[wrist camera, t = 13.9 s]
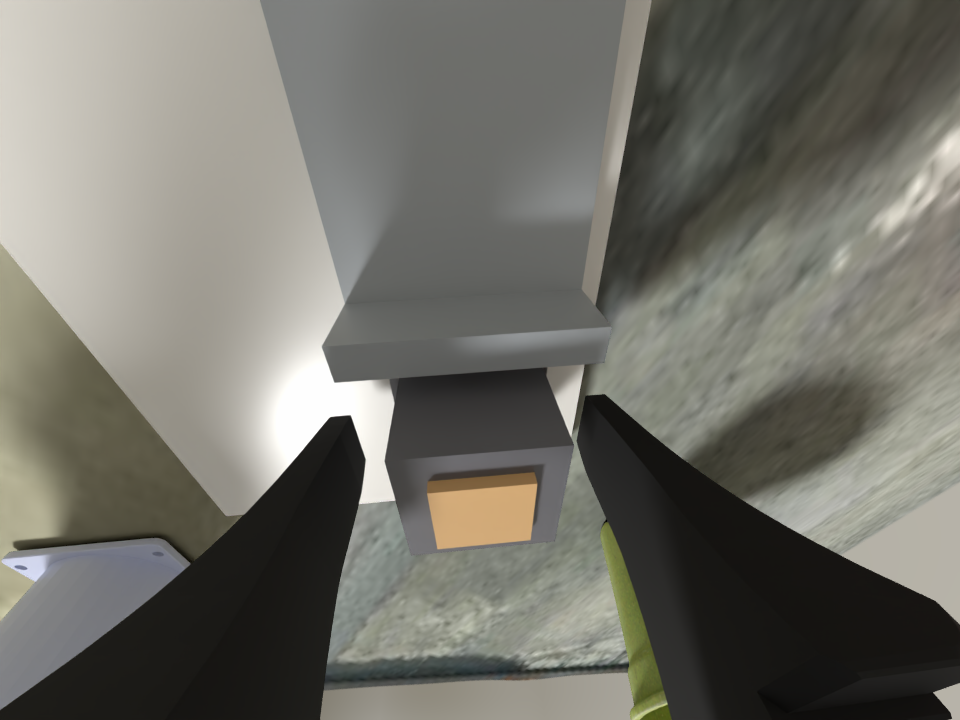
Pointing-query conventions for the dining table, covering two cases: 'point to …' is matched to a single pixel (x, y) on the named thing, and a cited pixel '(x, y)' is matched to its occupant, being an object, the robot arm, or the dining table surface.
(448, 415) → the grey rectangular block
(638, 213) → the dining table surface
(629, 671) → the plant pot
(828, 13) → the dining table surface
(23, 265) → the socket board
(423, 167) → the shutter
